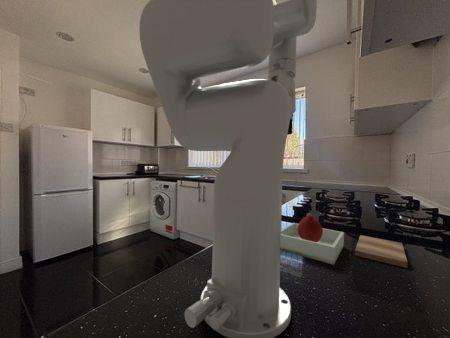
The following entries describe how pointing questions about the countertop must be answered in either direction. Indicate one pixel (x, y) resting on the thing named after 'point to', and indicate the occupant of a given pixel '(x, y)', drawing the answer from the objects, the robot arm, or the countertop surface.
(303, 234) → the onion
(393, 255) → the board
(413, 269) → the countertop surface
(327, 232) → the bin
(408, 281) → the countertop surface
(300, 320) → the countertop surface
